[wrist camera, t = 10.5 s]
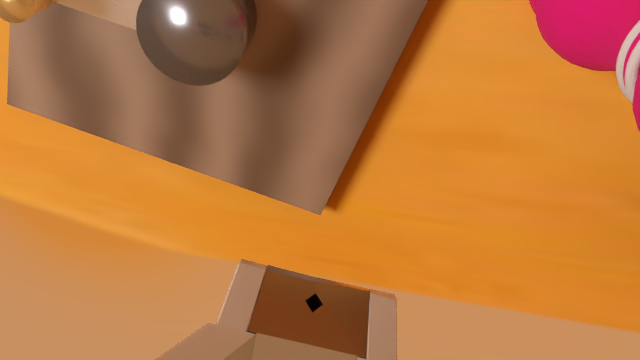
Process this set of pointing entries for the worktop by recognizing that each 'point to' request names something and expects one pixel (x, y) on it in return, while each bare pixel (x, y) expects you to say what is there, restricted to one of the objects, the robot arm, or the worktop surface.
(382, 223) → the worktop surface
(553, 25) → the pepper mill
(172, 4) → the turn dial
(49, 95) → the wooden board
